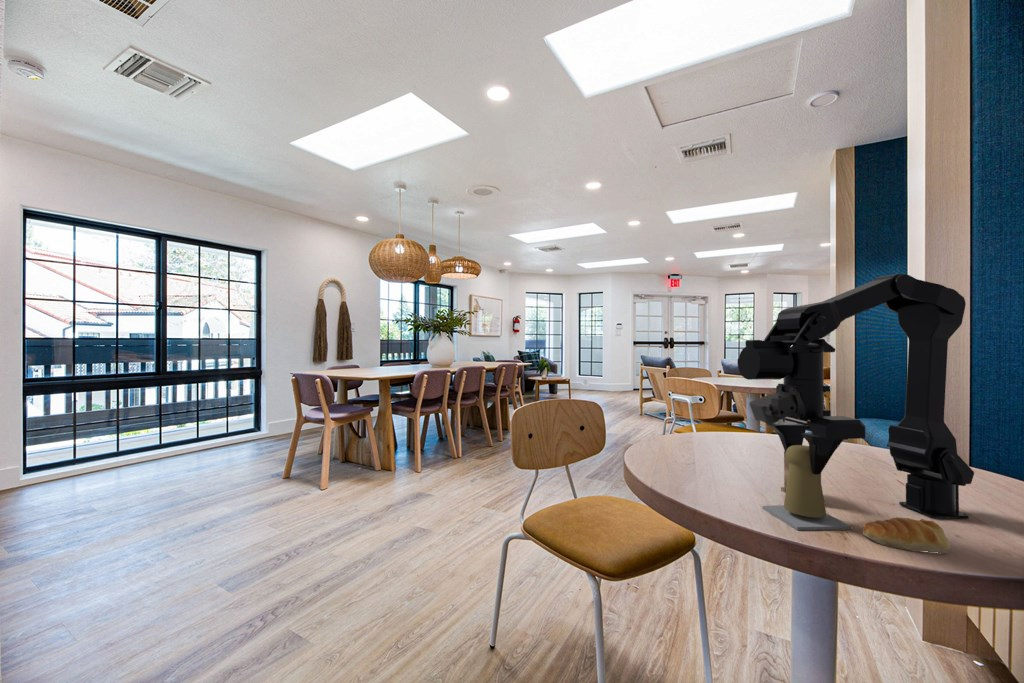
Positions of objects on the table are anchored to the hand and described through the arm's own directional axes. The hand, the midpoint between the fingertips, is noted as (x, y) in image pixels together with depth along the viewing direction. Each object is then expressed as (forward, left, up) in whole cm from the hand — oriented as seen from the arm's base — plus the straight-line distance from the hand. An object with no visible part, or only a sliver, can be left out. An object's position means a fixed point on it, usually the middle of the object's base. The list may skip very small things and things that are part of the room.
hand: (804, 469), depth 72 cm
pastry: (-9, +9, -9) cm, 16 cm away
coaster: (0, 0, -8) cm, 8 cm away
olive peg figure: (0, 0, -7) cm, 7 cm away
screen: (-7, -10, -8) cm, 15 cm away
